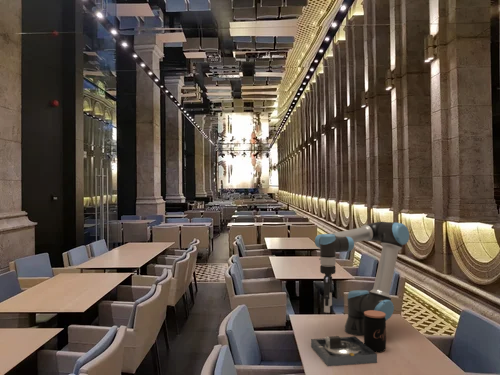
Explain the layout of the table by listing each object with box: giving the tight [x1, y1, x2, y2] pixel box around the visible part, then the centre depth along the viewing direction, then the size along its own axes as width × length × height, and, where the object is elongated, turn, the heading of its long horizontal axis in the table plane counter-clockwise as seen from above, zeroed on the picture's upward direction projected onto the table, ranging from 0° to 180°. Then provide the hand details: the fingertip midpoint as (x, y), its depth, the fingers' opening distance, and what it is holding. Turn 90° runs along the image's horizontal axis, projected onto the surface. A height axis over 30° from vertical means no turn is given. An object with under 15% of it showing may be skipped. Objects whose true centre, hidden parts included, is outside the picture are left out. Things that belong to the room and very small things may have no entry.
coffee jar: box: [363, 310, 387, 353], centre depth 207 cm, size 11×11×18 cm
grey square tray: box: [310, 335, 378, 367], centre depth 200 cm, size 24×24×5 cm
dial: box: [325, 335, 360, 355], centre depth 200 cm, size 17×17×6 cm
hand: (328, 308), depth 204 cm, fingers open, 12 cm apart
